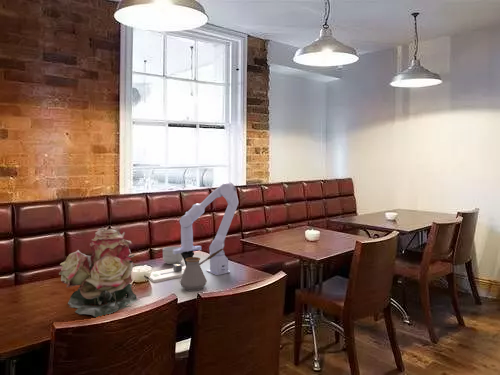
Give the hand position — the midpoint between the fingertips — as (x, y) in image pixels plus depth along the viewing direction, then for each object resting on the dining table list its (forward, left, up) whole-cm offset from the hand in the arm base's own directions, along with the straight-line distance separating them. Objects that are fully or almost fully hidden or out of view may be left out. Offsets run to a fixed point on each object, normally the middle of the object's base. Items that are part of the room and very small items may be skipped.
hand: (187, 266), depth 201 cm
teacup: (+17, -1, -3) cm, 17 cm away
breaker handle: (0, +5, -1) cm, 6 cm away
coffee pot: (-23, +4, -3) cm, 24 cm away
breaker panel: (0, +9, -3) cm, 9 cm away
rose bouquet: (-19, +45, -3) cm, 49 cm away
